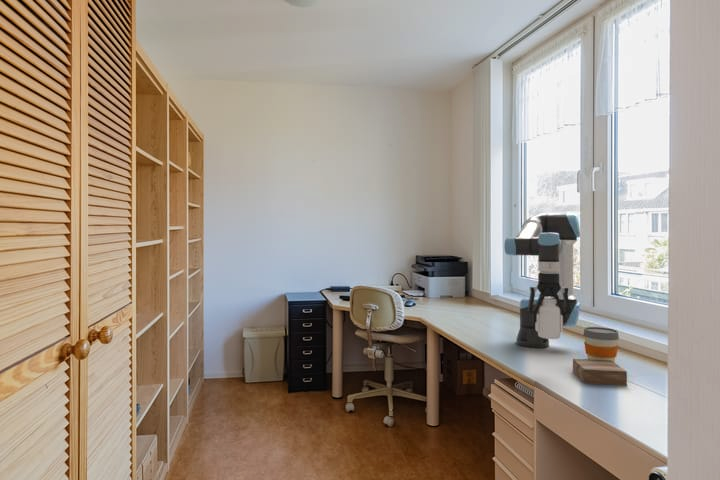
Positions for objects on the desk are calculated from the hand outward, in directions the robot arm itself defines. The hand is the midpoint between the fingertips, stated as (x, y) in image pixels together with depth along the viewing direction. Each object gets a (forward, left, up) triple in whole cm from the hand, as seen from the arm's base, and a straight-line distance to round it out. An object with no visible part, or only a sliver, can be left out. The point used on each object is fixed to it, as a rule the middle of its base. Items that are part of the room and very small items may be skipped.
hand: (548, 331), depth 166 cm
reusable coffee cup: (-14, +23, -17) cm, 31 cm away
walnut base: (+2, +17, -16) cm, 24 cm away
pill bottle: (0, 0, -3) cm, 3 cm away
